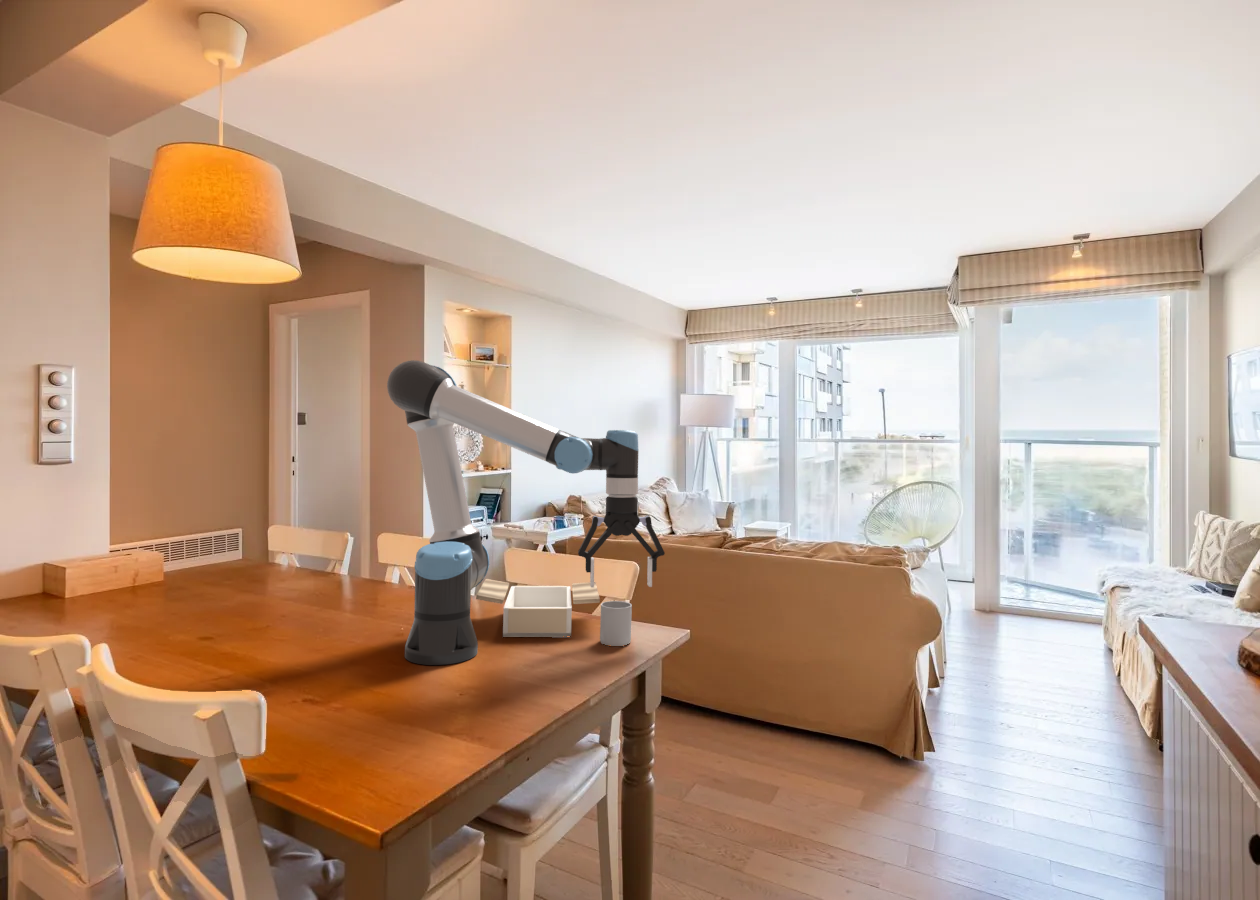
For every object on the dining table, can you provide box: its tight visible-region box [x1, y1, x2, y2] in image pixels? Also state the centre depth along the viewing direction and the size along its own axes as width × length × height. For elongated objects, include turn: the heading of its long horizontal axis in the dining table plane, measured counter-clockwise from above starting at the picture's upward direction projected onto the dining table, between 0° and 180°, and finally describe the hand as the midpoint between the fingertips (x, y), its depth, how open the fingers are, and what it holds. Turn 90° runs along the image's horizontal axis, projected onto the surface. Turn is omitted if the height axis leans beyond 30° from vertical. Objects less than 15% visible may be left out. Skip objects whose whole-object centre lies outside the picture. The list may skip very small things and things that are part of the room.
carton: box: [502, 585, 573, 638], centre depth 168 cm, size 25×16×7 cm, turn 6°
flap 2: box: [571, 581, 601, 605], centre depth 170 cm, size 19×6×1 cm, turn 6°
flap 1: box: [475, 578, 510, 605], centre depth 167 cm, size 19×6×1 cm, turn 6°
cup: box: [599, 600, 633, 647], centre depth 156 cm, size 7×10×9 cm
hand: (620, 586), depth 155 cm, fingers open, 13 cm apart
